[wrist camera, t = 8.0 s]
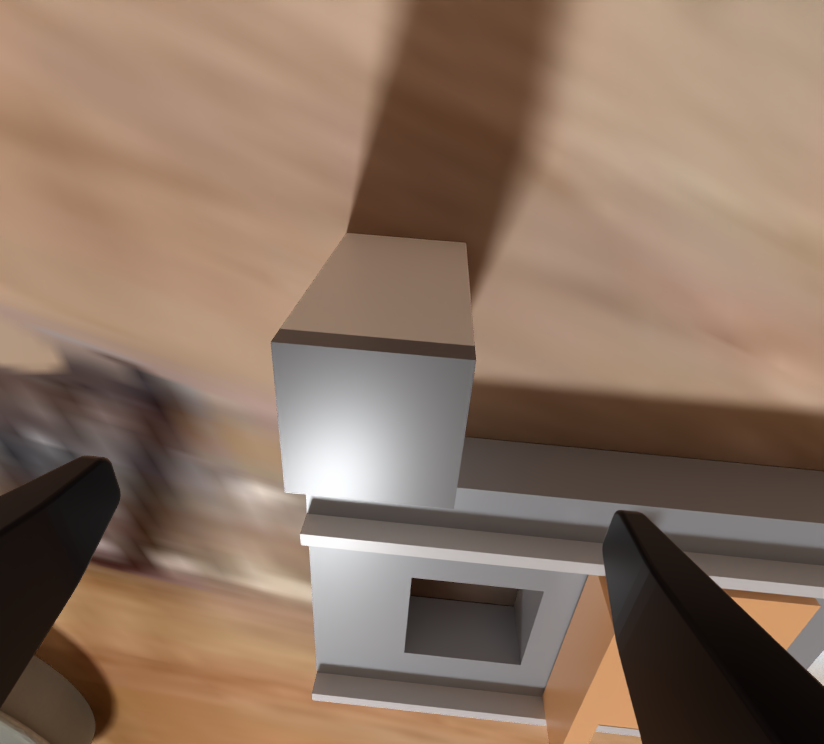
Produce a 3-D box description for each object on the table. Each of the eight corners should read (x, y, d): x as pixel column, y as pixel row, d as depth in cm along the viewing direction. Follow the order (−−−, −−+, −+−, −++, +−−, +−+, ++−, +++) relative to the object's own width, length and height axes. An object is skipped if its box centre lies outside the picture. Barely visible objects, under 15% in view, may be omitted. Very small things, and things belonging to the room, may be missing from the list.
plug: (466, 242, 16) (475, 360, 10) (453, 349, 18) (453, 509, 12) (346, 232, 16) (270, 342, 10) (346, 339, 19) (284, 492, 12)
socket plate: (863, 475, 20) (948, 557, 17) (713, 686, 28) (750, 770, 25) (323, 423, 21) (297, 492, 17) (330, 644, 29) (314, 721, 25)
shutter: (804, 582, 19) (857, 658, 16) (707, 713, 24) (737, 787, 22) (593, 560, 19) (615, 633, 17) (542, 696, 24) (552, 766, 22)
